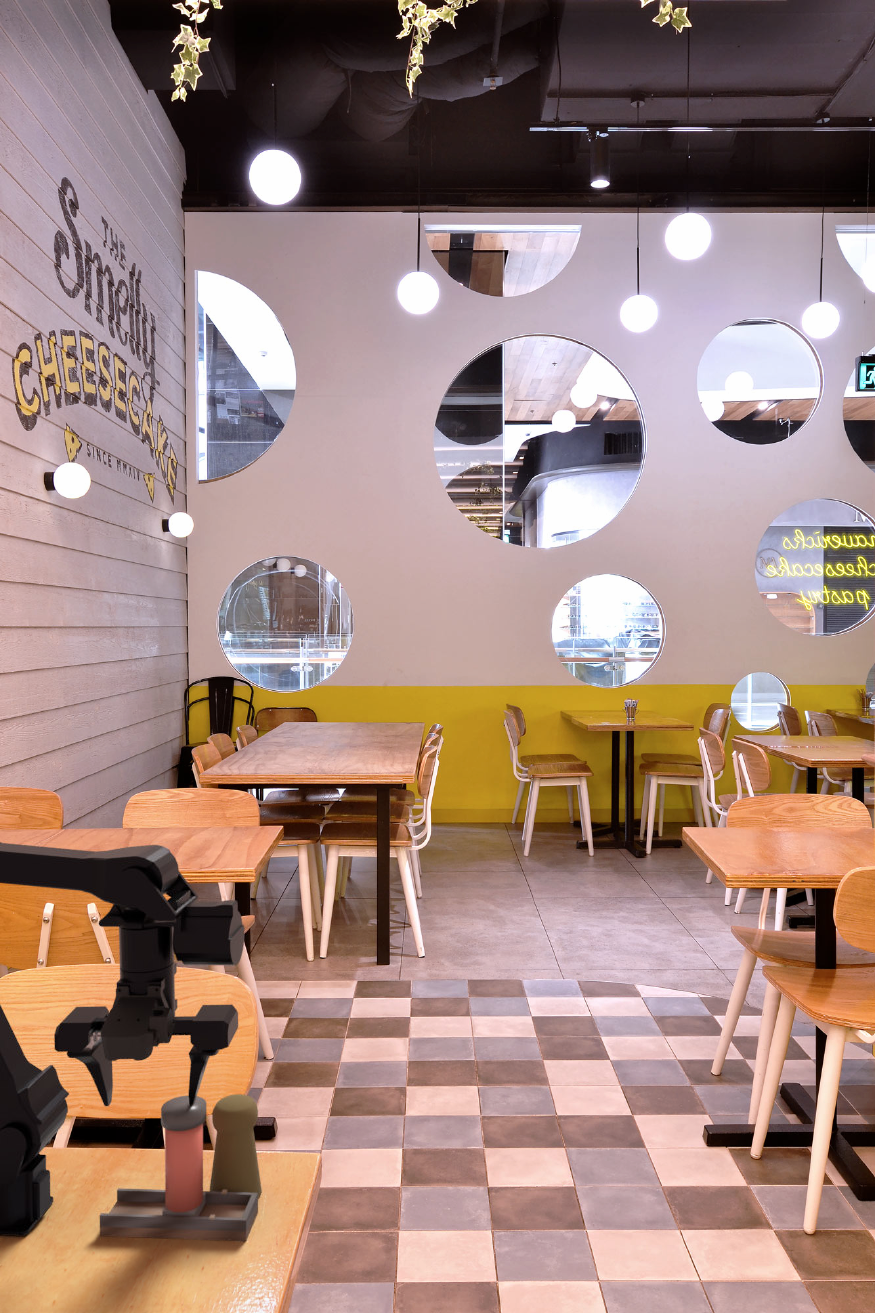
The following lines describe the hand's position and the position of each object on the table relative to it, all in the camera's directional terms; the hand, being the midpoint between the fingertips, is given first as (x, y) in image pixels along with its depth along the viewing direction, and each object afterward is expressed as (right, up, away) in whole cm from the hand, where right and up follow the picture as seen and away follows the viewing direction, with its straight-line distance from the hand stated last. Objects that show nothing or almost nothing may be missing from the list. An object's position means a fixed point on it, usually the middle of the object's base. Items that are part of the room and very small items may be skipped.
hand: (150, 1104), depth 102 cm
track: (+3, -13, 0) cm, 13 cm away
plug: (+4, -12, 0) cm, 12 cm away
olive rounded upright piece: (+8, -13, +5) cm, 16 cm away
